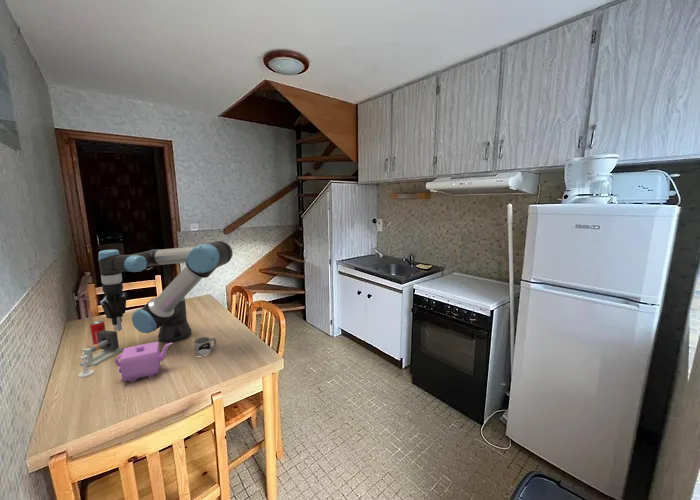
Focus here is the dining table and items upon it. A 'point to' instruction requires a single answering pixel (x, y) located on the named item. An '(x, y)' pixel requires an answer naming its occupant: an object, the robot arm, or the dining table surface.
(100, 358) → the pipe rig
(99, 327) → the beverage can
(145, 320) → the robot arm
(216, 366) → the dining table surface
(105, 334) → the collar
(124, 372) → the teapot
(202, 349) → the mug
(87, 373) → the chess piece
